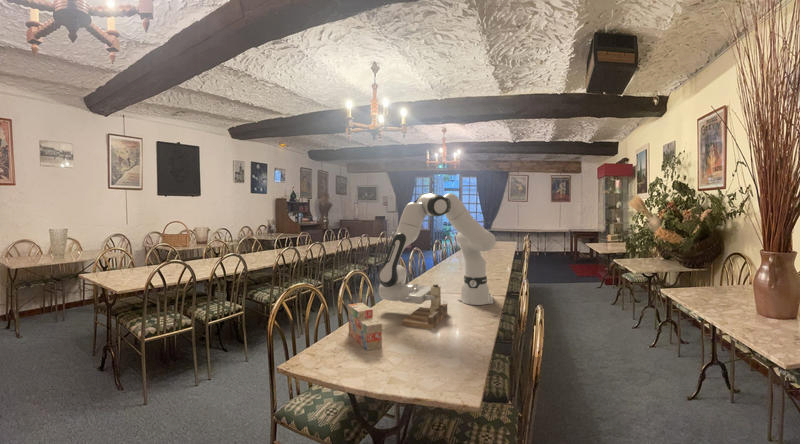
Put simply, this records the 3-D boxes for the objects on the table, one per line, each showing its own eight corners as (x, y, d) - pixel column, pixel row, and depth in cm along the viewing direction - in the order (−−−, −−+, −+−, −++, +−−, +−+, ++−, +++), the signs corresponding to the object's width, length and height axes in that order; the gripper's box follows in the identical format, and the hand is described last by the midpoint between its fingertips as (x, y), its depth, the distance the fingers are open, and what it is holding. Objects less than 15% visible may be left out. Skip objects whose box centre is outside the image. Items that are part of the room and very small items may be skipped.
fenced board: (420, 311, 184) (419, 301, 184) (447, 314, 178) (447, 303, 178) (401, 325, 163) (401, 314, 163) (432, 329, 157) (432, 317, 157)
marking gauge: (434, 309, 180) (434, 283, 180) (442, 309, 179) (442, 283, 178) (429, 312, 174) (429, 285, 173) (438, 313, 172) (437, 286, 172)
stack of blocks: (382, 347, 138) (381, 315, 138) (366, 351, 135) (366, 317, 135) (362, 330, 157) (362, 302, 157) (348, 333, 155) (347, 303, 154)
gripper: (401, 292, 171) (430, 294, 166) (417, 283, 190) (443, 285, 184) (402, 305, 171) (430, 308, 166) (417, 295, 190) (443, 297, 185)
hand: (437, 296), depth 175 cm, fingers open, 5 cm apart
